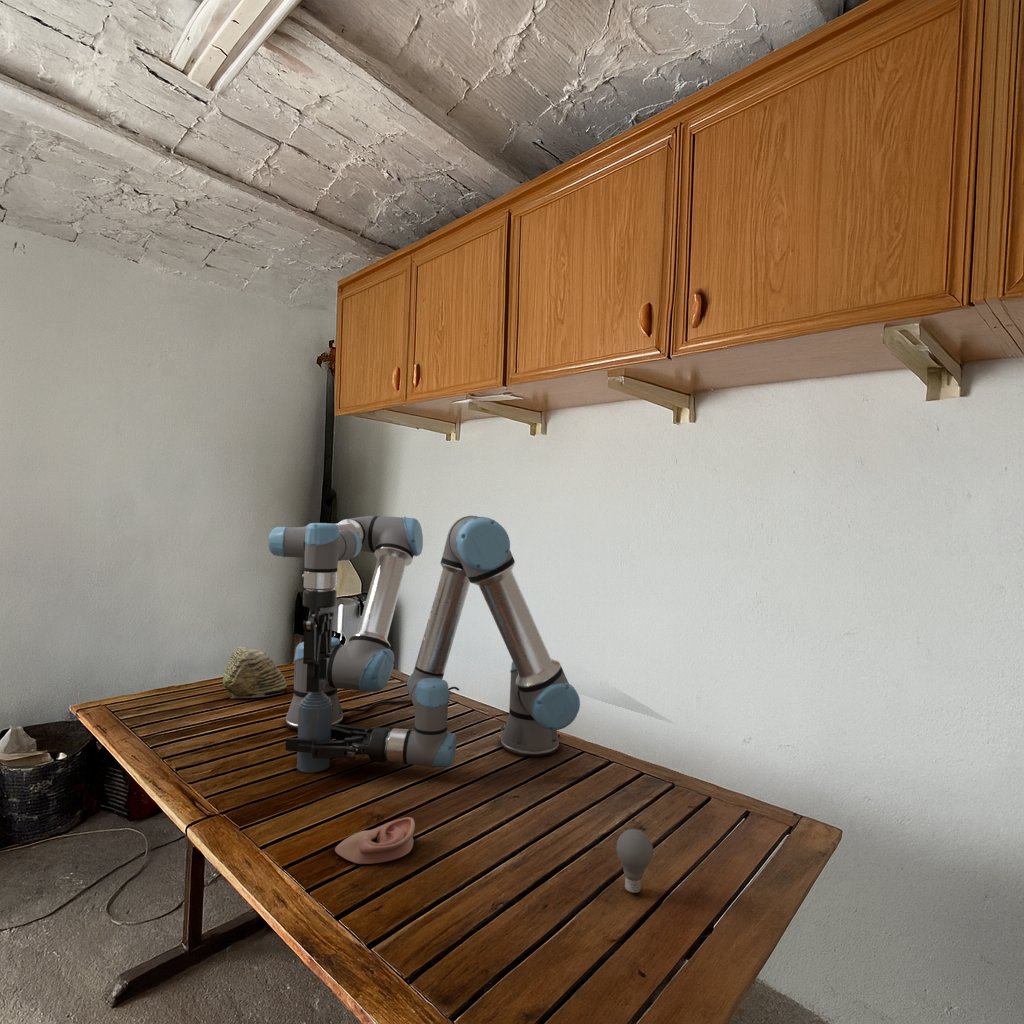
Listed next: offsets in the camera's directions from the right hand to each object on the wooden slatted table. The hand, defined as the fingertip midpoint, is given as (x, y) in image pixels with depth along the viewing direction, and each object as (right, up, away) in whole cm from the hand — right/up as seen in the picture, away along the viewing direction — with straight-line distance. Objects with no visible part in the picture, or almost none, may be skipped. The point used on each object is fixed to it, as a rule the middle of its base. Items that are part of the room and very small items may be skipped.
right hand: (294, 737), depth 149 cm
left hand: (+5, +12, -1) cm, 13 cm away
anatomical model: (+26, -8, -34) cm, 44 cm away
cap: (+5, +14, -1) cm, 15 cm away
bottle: (+5, -7, 0) cm, 8 cm away
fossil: (-29, -4, +49) cm, 57 cm away
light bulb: (+71, -10, -43) cm, 84 cm away
